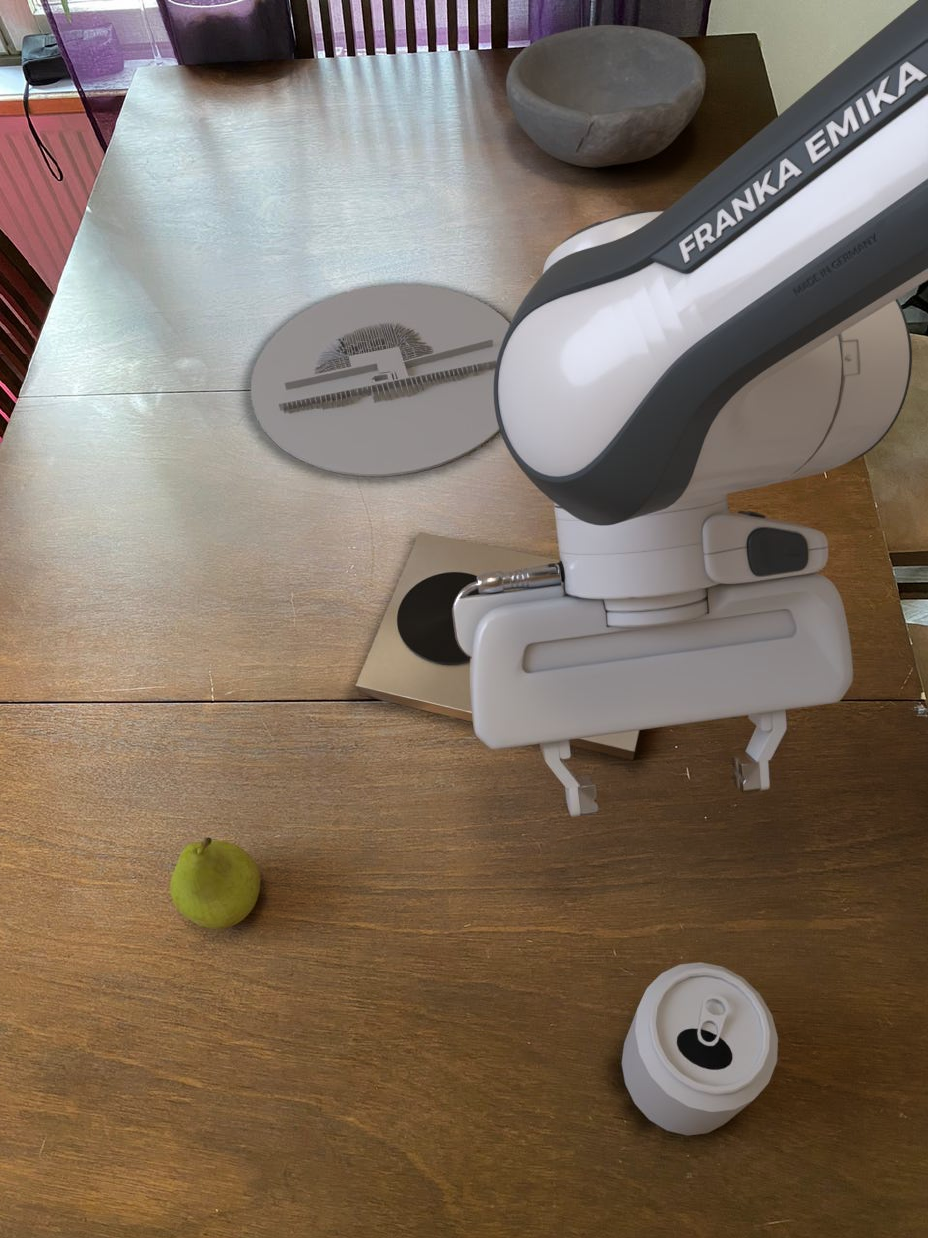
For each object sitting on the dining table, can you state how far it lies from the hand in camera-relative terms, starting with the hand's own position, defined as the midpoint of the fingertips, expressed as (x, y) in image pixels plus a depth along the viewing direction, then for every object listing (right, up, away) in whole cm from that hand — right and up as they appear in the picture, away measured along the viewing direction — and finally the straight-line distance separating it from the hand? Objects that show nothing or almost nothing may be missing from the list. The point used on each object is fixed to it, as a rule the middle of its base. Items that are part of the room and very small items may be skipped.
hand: (667, 800), depth 53 cm
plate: (-19, +35, +45) cm, 60 cm away
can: (+2, -18, +7) cm, 20 cm away
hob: (-7, +8, +25) cm, 28 cm away
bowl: (+6, +68, +66) cm, 95 cm away
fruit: (-28, -10, +15) cm, 33 cm away
